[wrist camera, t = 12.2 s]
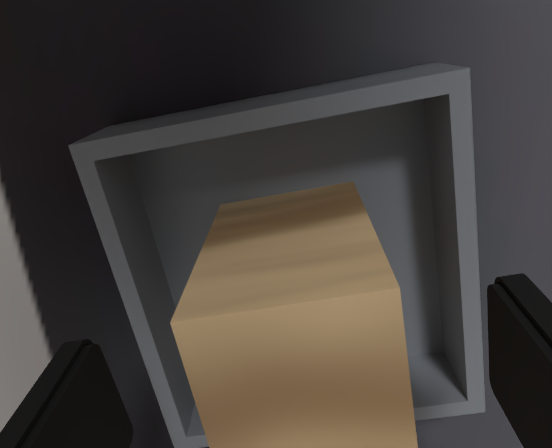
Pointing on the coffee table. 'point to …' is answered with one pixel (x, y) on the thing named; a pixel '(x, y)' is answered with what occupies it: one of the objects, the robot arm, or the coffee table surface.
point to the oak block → (296, 327)
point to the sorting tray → (295, 177)
